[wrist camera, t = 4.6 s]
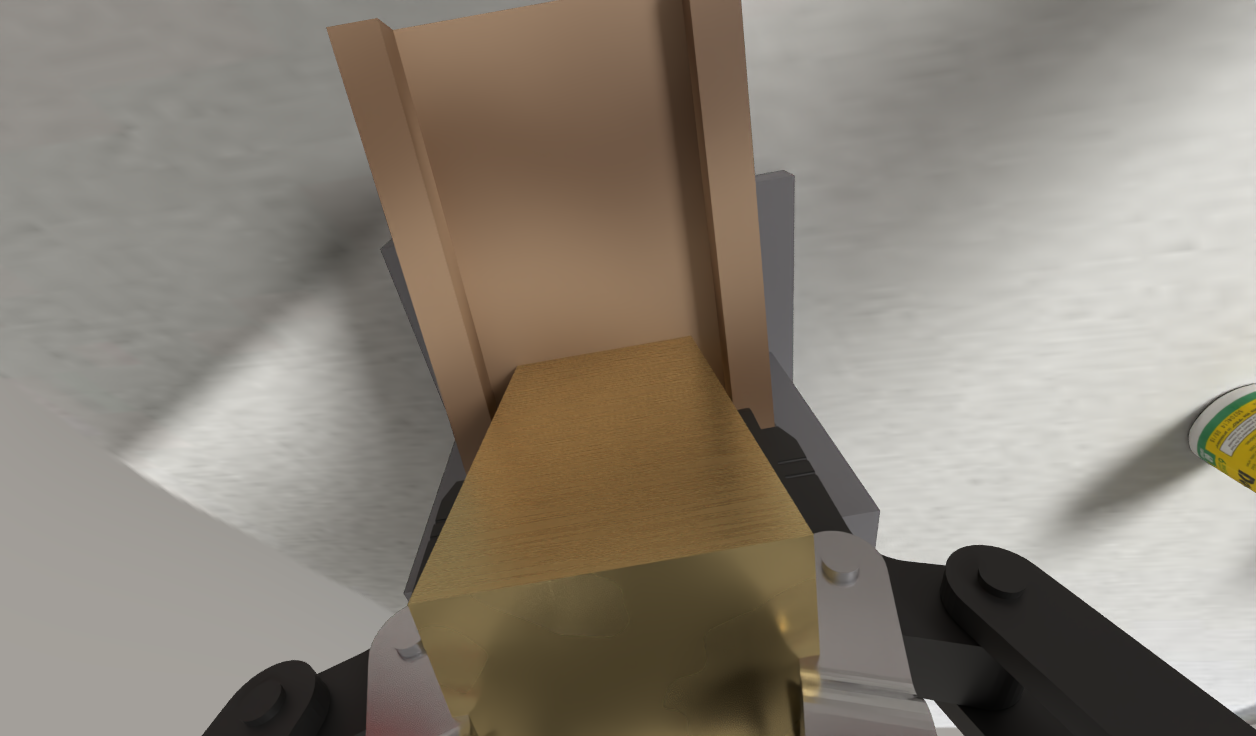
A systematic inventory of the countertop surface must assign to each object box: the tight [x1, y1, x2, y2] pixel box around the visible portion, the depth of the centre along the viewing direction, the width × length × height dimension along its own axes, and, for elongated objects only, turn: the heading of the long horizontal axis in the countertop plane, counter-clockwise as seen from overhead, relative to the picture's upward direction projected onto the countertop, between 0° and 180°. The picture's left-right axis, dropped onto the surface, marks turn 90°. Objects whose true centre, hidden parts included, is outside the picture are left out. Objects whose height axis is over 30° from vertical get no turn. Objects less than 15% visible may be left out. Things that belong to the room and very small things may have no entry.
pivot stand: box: [380, 170, 880, 601], centre depth 20 cm, size 18×16×11 cm
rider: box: [408, 336, 820, 736], centre depth 10 cm, size 4×4×8 cm
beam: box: [326, 0, 775, 476], centre depth 16 cm, size 30×10×4 cm, turn 9°
